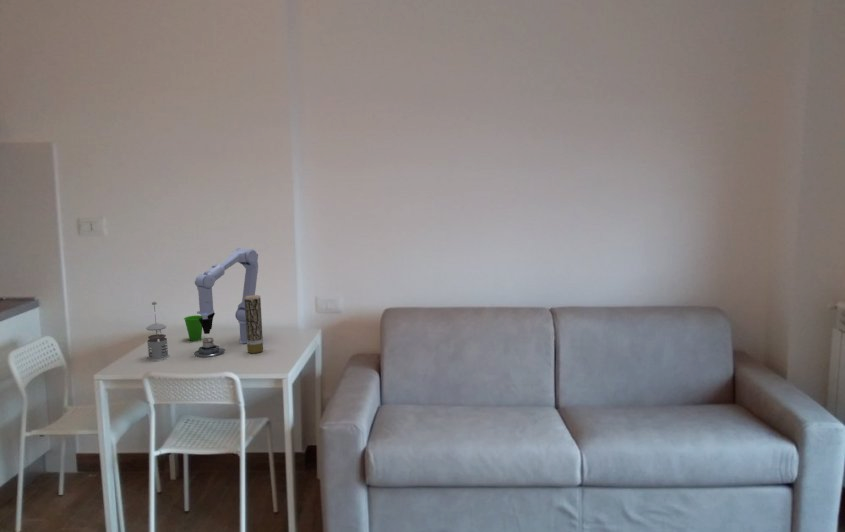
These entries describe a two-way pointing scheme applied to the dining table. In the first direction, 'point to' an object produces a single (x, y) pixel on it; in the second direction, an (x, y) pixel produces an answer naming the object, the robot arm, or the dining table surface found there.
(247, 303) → the paper tube
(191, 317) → the cup
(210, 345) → the silver metal canister
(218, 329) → the dining table surface
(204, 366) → the dining table surface
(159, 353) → the french press
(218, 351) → the flange ring
